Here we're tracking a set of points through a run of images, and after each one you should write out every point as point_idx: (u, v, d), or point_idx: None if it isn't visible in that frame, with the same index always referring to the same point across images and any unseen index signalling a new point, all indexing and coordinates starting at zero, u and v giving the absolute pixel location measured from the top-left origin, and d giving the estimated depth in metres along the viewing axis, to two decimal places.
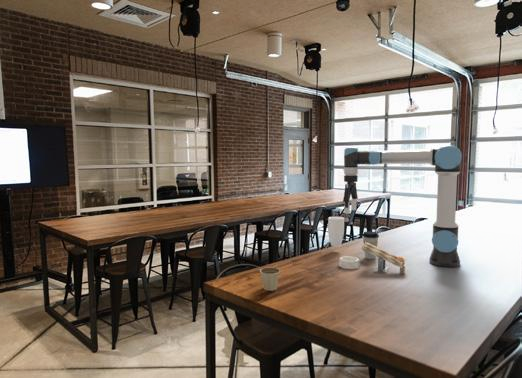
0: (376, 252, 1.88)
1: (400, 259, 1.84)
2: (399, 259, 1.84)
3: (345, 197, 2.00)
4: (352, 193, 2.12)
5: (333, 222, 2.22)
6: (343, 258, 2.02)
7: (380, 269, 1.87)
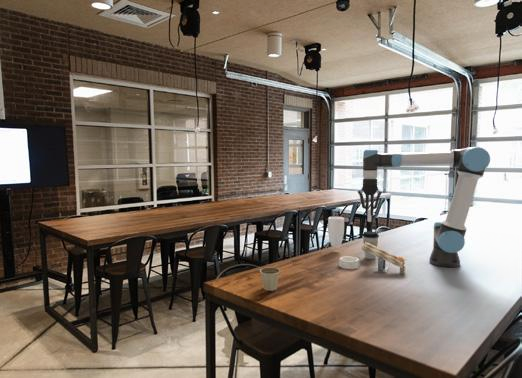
0: (376, 252, 1.88)
1: (400, 259, 1.84)
2: (399, 259, 1.84)
3: None
4: None
5: (333, 222, 2.22)
6: (343, 258, 2.02)
7: (380, 269, 1.87)
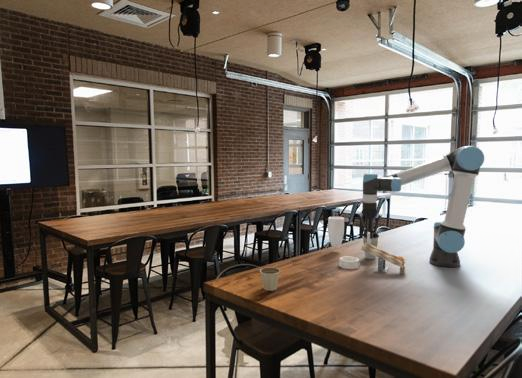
0: (376, 252, 1.88)
1: (400, 259, 1.84)
2: (399, 259, 1.84)
3: None
4: None
5: (333, 222, 2.22)
6: (343, 258, 2.02)
7: (380, 269, 1.87)
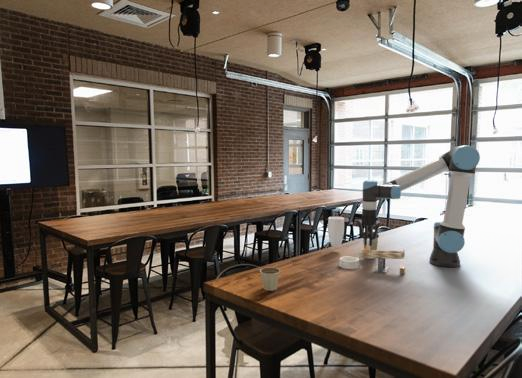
0: (373, 254, 1.89)
1: None
2: None
3: None
4: None
5: (333, 222, 2.22)
6: (343, 258, 2.02)
7: (380, 269, 1.87)
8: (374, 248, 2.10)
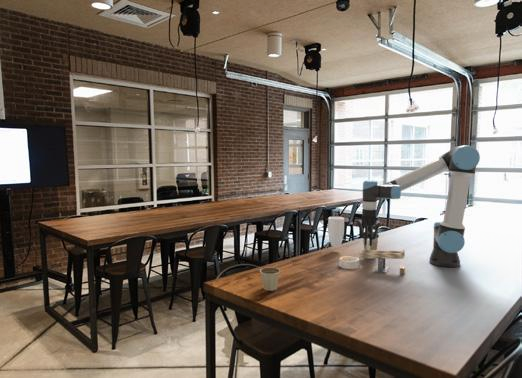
0: (373, 254, 1.89)
1: None
2: None
3: None
4: None
5: (333, 222, 2.22)
6: (343, 258, 2.02)
7: (380, 269, 1.87)
8: (374, 248, 2.10)
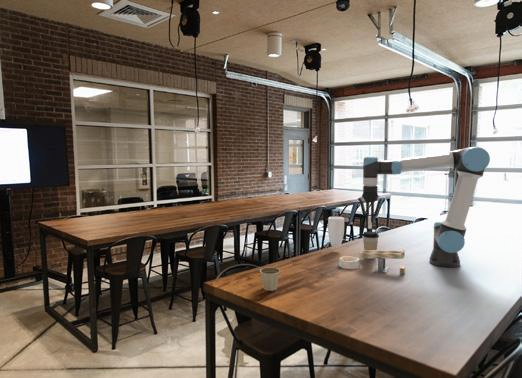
0: (373, 254, 1.89)
1: None
2: None
3: None
4: None
5: (333, 222, 2.22)
6: (343, 258, 2.02)
7: (380, 269, 1.87)
8: (374, 248, 2.10)
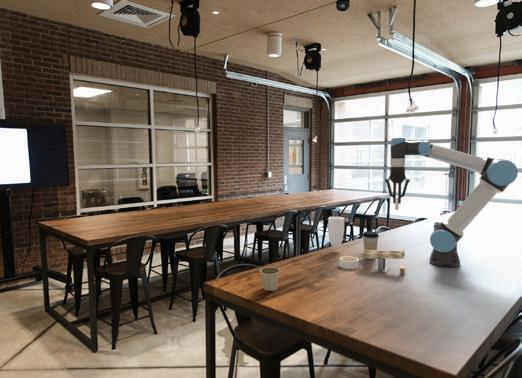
0: (373, 254, 1.89)
1: None
2: None
3: None
4: None
5: (333, 222, 2.22)
6: (343, 258, 2.02)
7: (380, 269, 1.87)
8: (374, 248, 2.10)
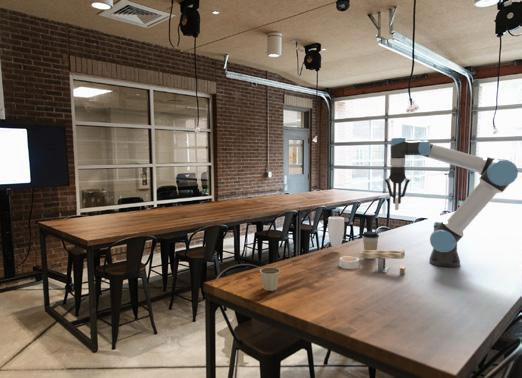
0: (373, 254, 1.89)
1: None
2: None
3: None
4: None
5: (333, 222, 2.22)
6: (343, 258, 2.02)
7: (380, 269, 1.87)
8: (374, 248, 2.10)
